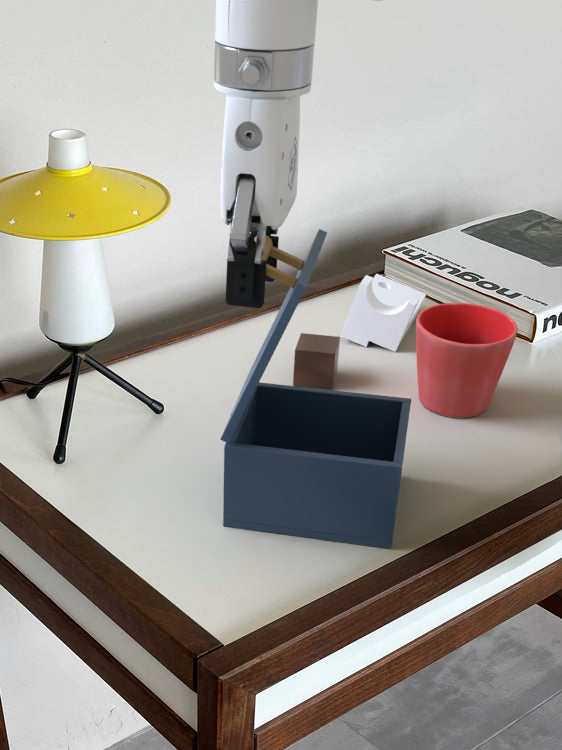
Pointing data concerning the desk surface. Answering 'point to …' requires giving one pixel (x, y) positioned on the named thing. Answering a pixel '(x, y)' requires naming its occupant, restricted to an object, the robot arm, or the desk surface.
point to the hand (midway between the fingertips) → (251, 289)
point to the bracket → (382, 312)
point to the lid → (281, 320)
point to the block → (316, 361)
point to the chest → (317, 464)
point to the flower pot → (461, 356)
